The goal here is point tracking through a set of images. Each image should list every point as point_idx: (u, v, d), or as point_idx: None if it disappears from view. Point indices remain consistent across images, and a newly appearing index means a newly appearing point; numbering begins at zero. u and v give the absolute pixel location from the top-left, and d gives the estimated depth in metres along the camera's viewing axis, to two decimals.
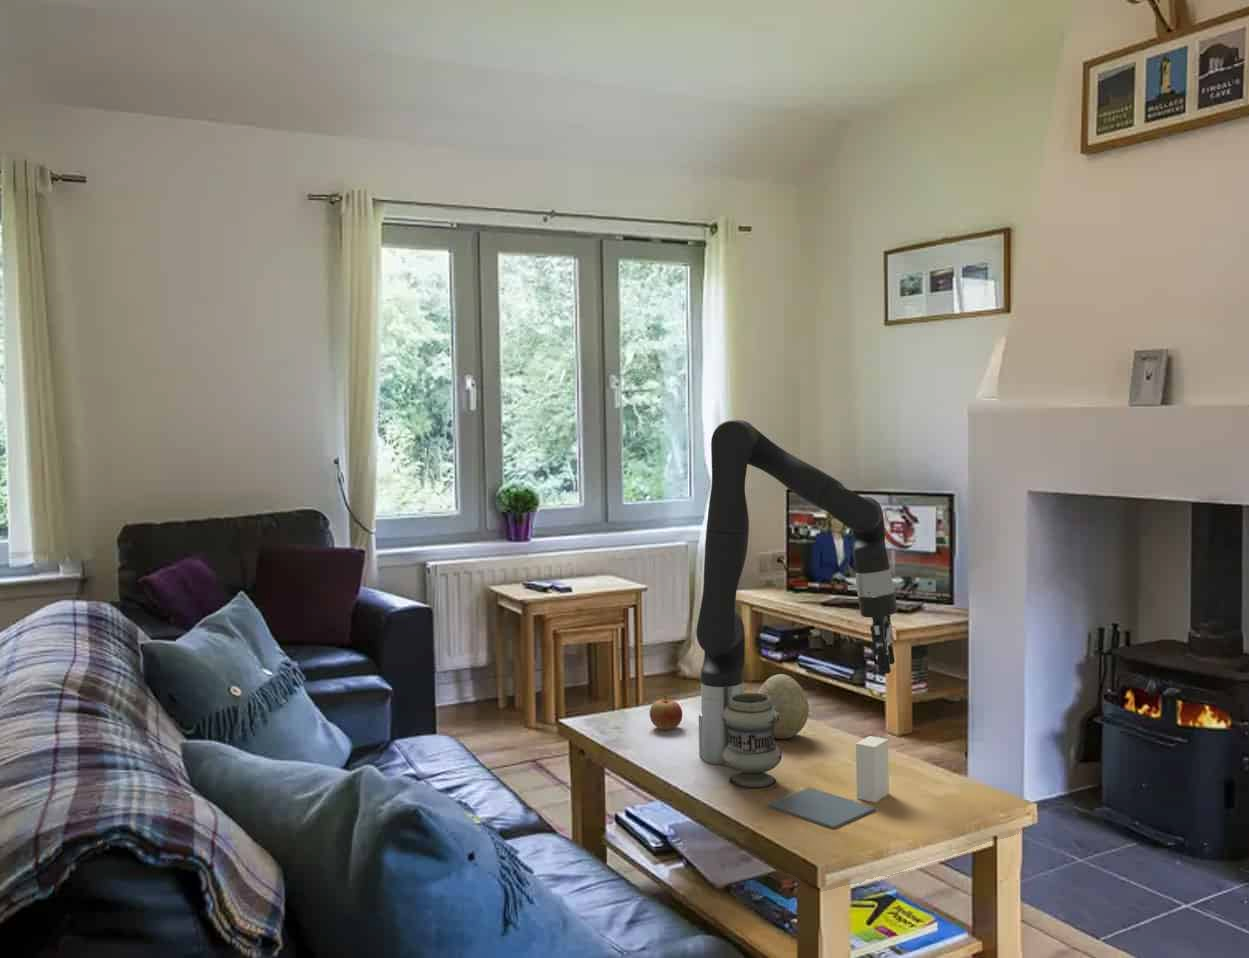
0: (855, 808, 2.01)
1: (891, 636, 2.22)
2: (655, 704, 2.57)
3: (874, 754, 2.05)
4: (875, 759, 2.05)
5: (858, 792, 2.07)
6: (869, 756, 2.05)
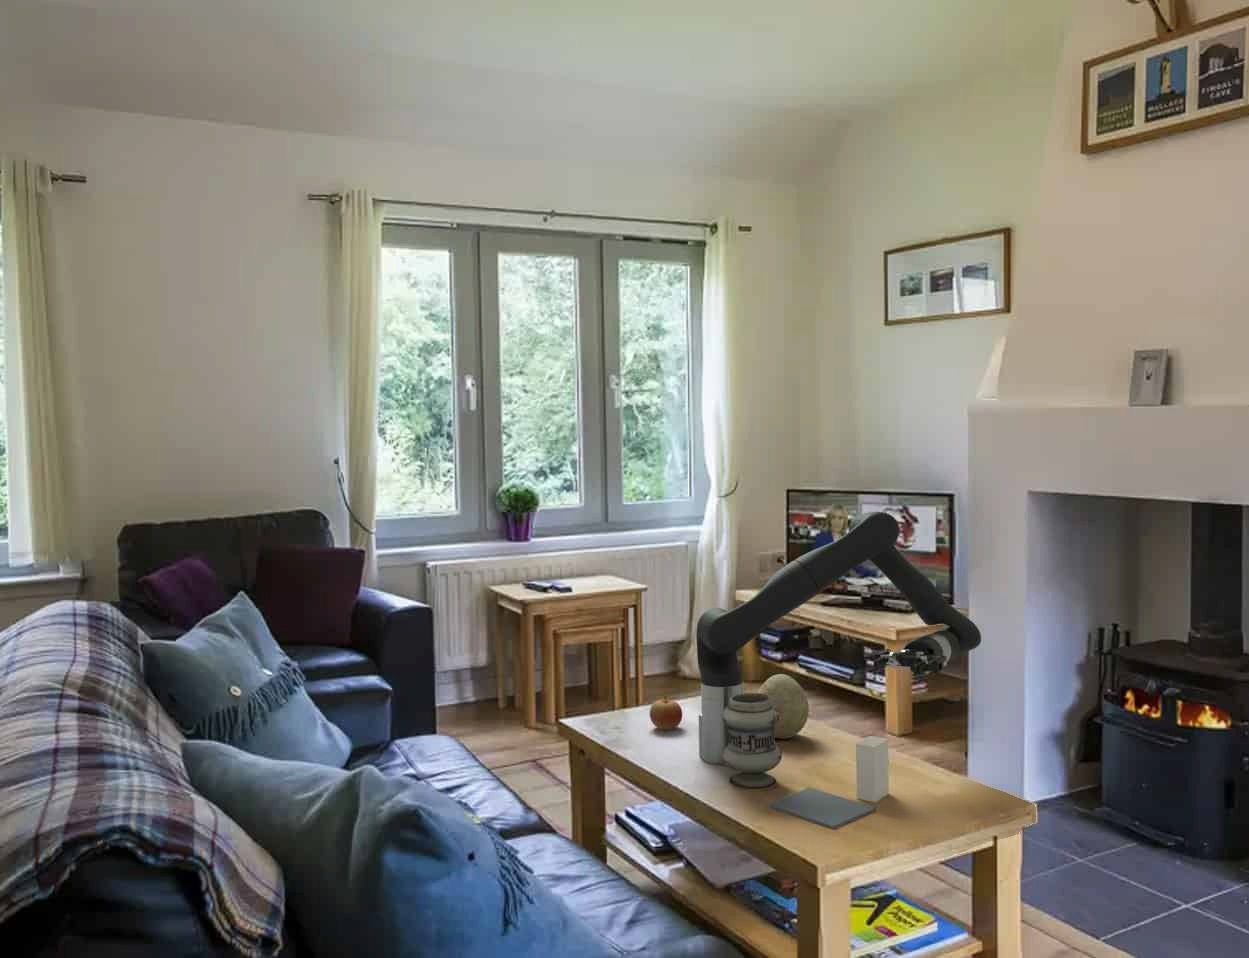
0: (855, 808, 2.01)
1: (896, 667, 2.23)
2: (655, 704, 2.57)
3: (874, 754, 2.05)
4: (875, 759, 2.05)
5: (858, 792, 2.07)
6: (869, 756, 2.05)
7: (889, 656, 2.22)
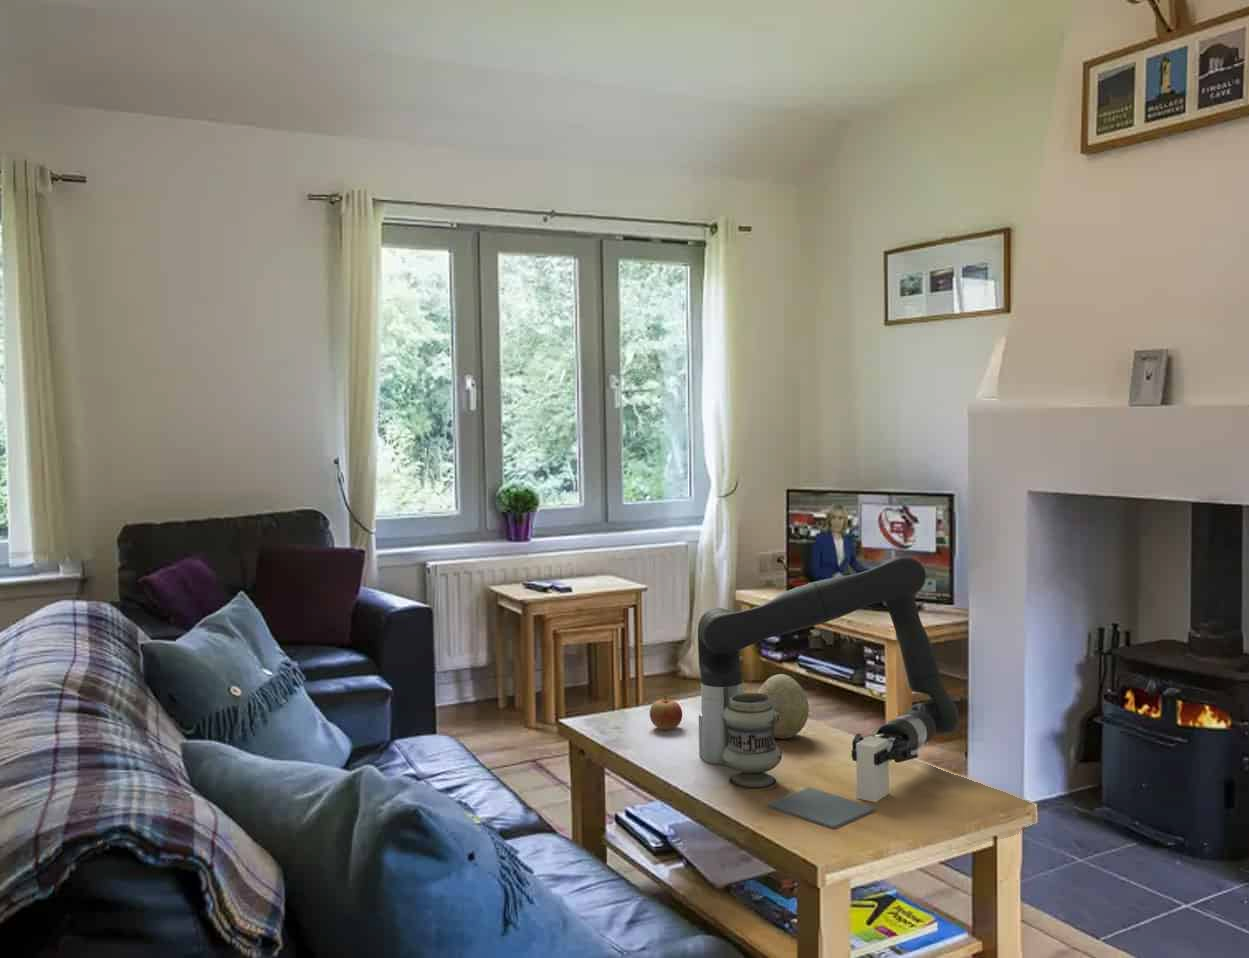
0: (855, 808, 2.01)
1: None
2: (655, 704, 2.57)
3: None
4: None
5: (858, 792, 2.07)
6: (869, 756, 2.05)
7: None
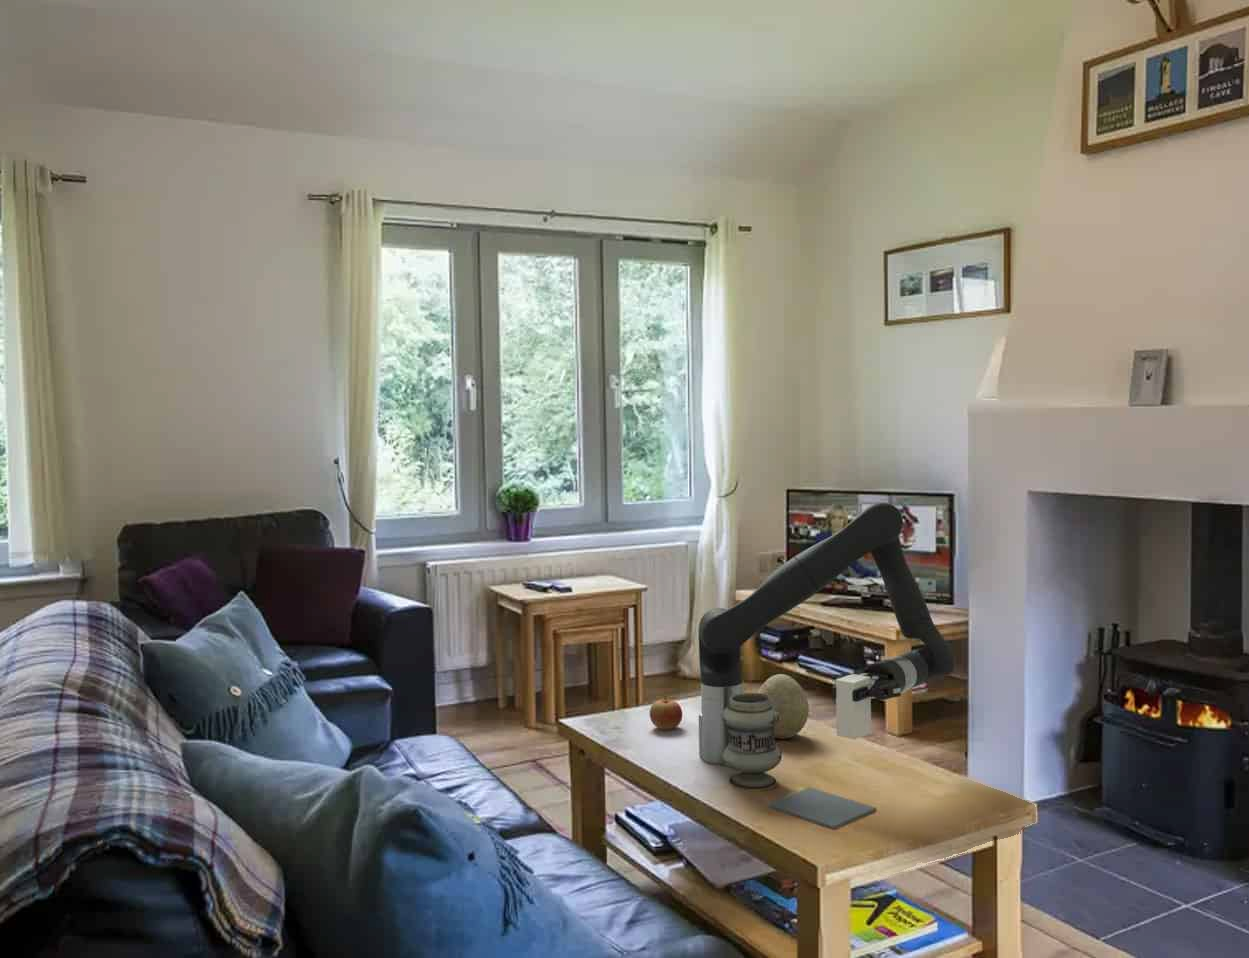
0: (855, 808, 2.01)
1: None
2: (655, 704, 2.57)
3: None
4: None
5: (838, 729, 2.04)
6: (848, 692, 2.02)
7: None
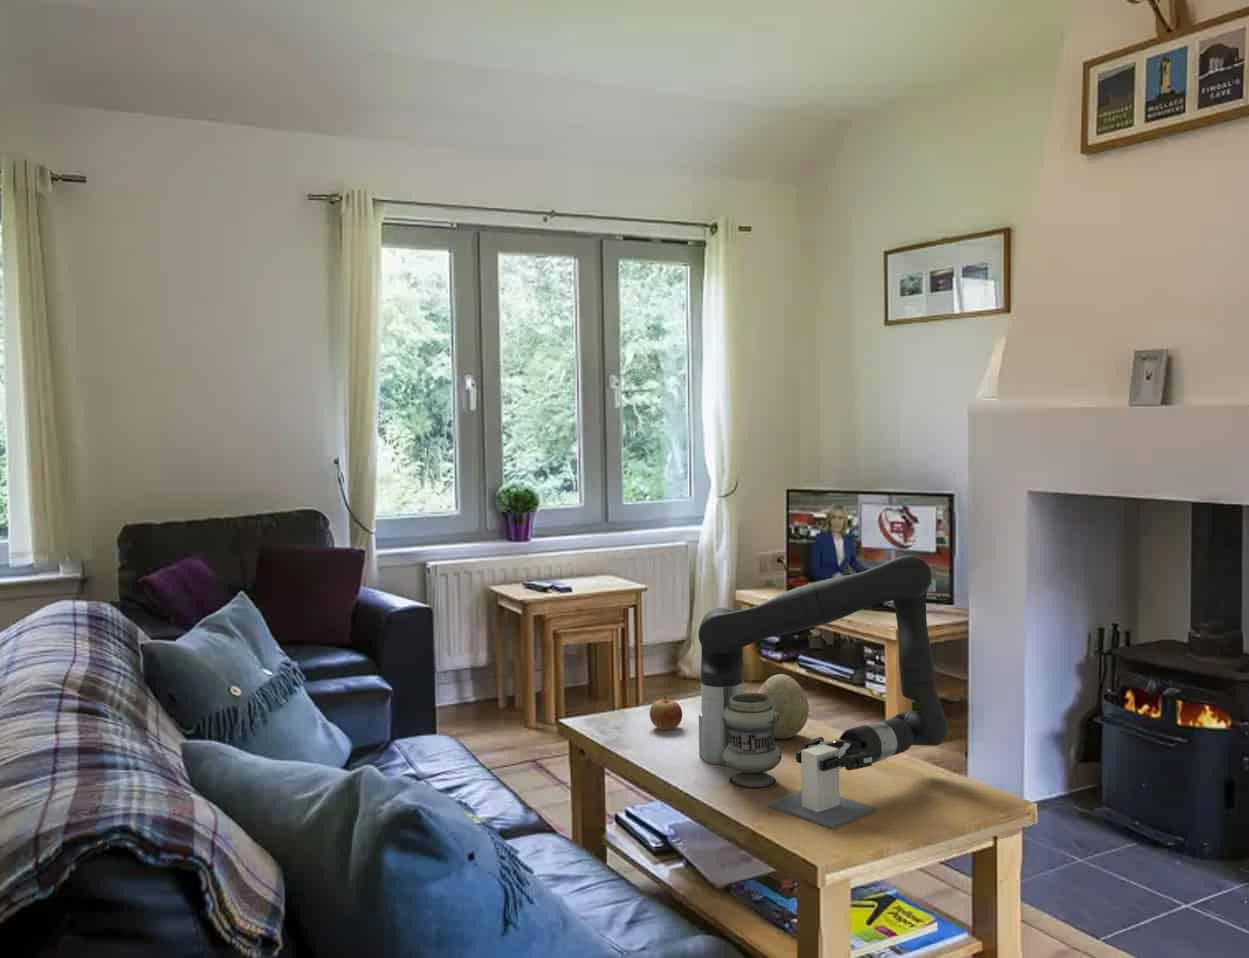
0: (855, 808, 2.01)
1: None
2: (655, 704, 2.57)
3: (816, 762, 1.99)
4: (817, 768, 1.99)
5: (803, 800, 2.02)
6: (812, 764, 2.00)
7: None
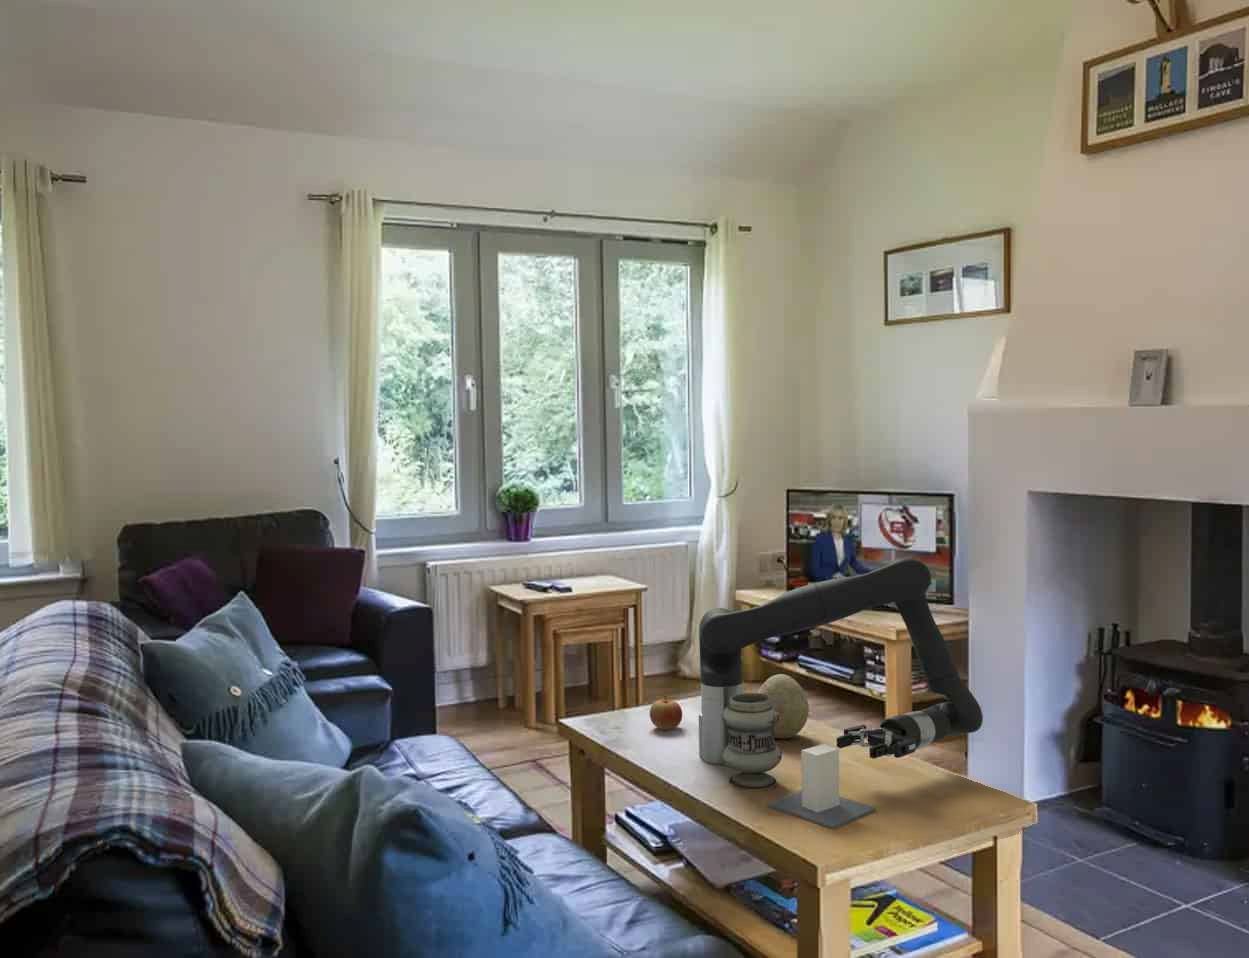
0: (855, 808, 2.01)
1: (864, 745, 2.14)
2: (655, 704, 2.57)
3: (816, 763, 1.99)
4: (817, 768, 1.99)
5: (803, 800, 2.02)
6: (812, 764, 2.00)
7: (857, 733, 2.14)
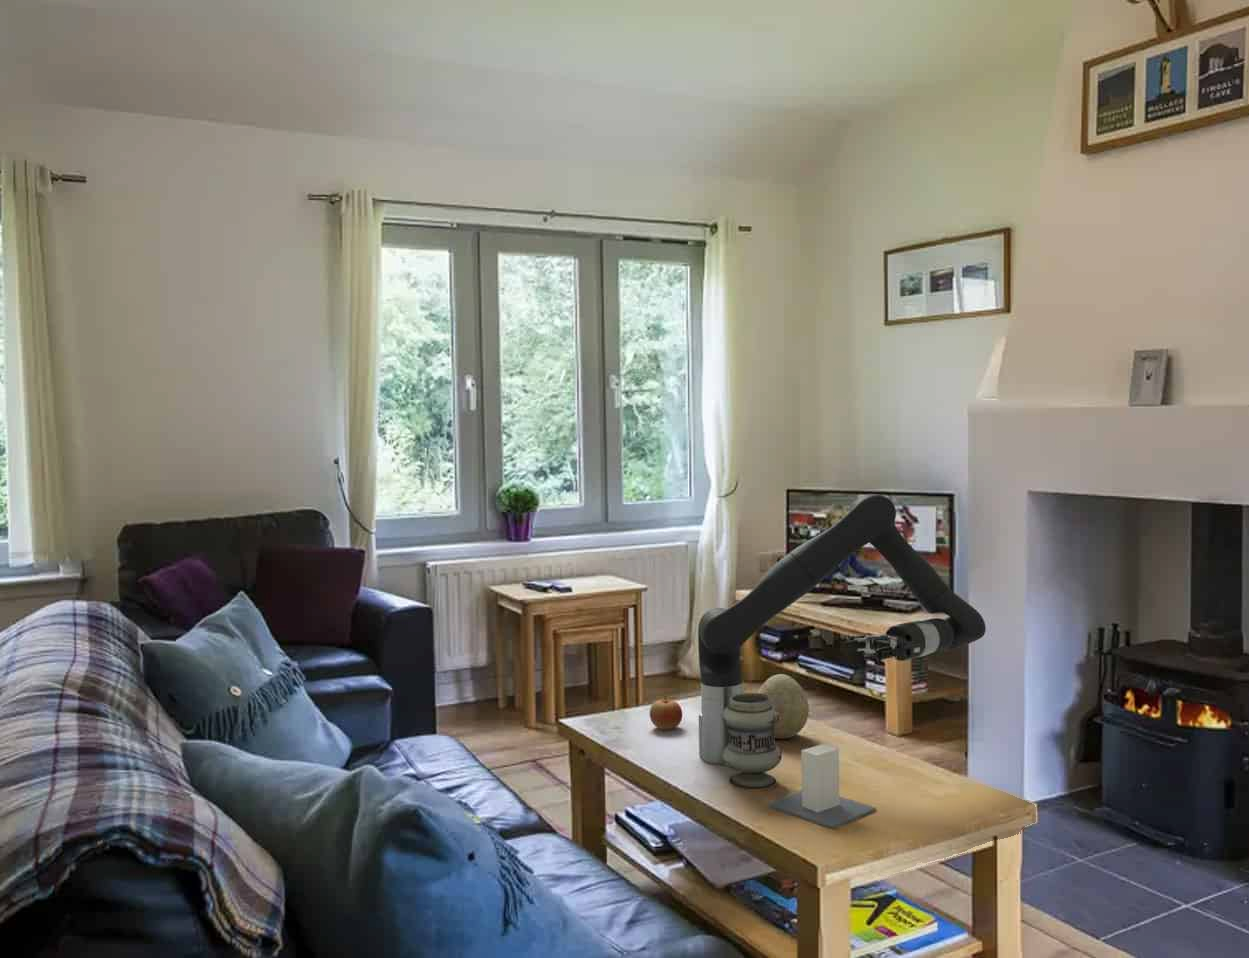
0: (855, 808, 2.01)
1: (870, 651, 2.18)
2: (655, 704, 2.57)
3: (816, 763, 1.99)
4: (817, 768, 1.99)
5: (803, 800, 2.02)
6: (812, 764, 2.00)
7: (862, 640, 2.18)
